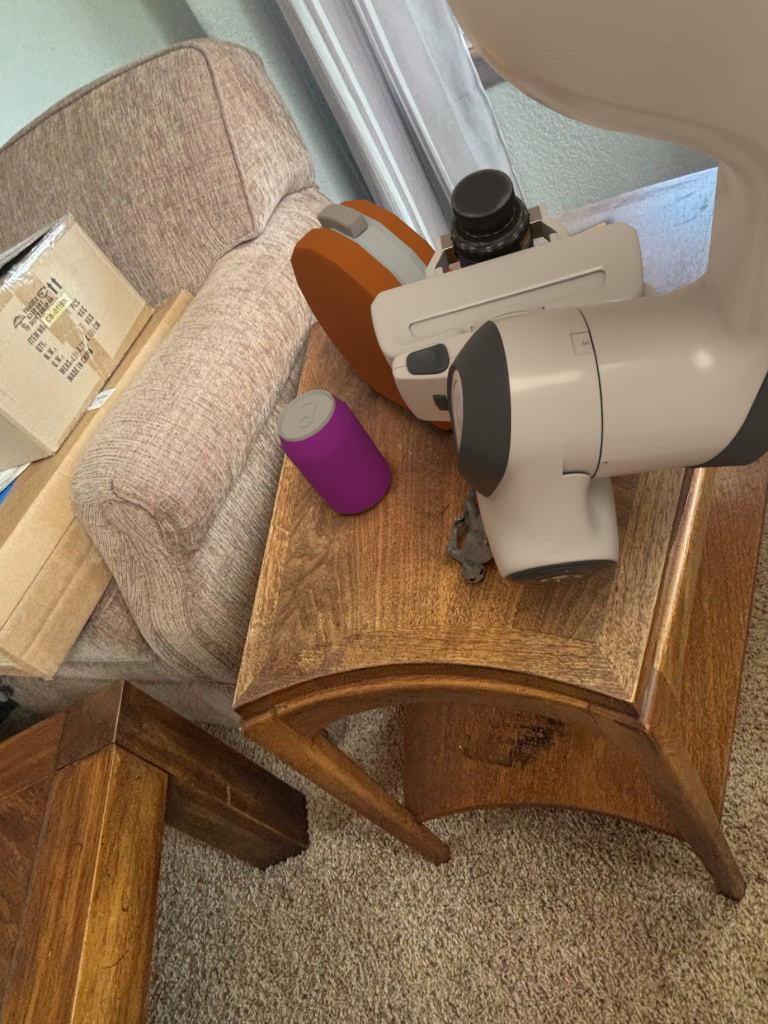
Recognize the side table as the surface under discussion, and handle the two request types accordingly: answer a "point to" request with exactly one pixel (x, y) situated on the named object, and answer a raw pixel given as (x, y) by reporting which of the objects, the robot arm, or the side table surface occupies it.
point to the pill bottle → (488, 218)
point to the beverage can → (333, 451)
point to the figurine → (470, 541)
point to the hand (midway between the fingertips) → (489, 226)
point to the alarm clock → (359, 281)
